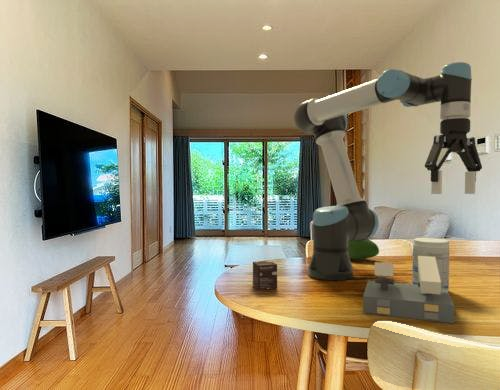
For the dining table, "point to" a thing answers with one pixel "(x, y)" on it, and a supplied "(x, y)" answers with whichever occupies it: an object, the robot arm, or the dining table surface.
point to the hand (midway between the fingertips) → (453, 193)
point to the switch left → (384, 269)
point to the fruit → (362, 249)
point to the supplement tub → (432, 249)
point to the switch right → (429, 275)
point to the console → (407, 301)
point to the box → (264, 274)
